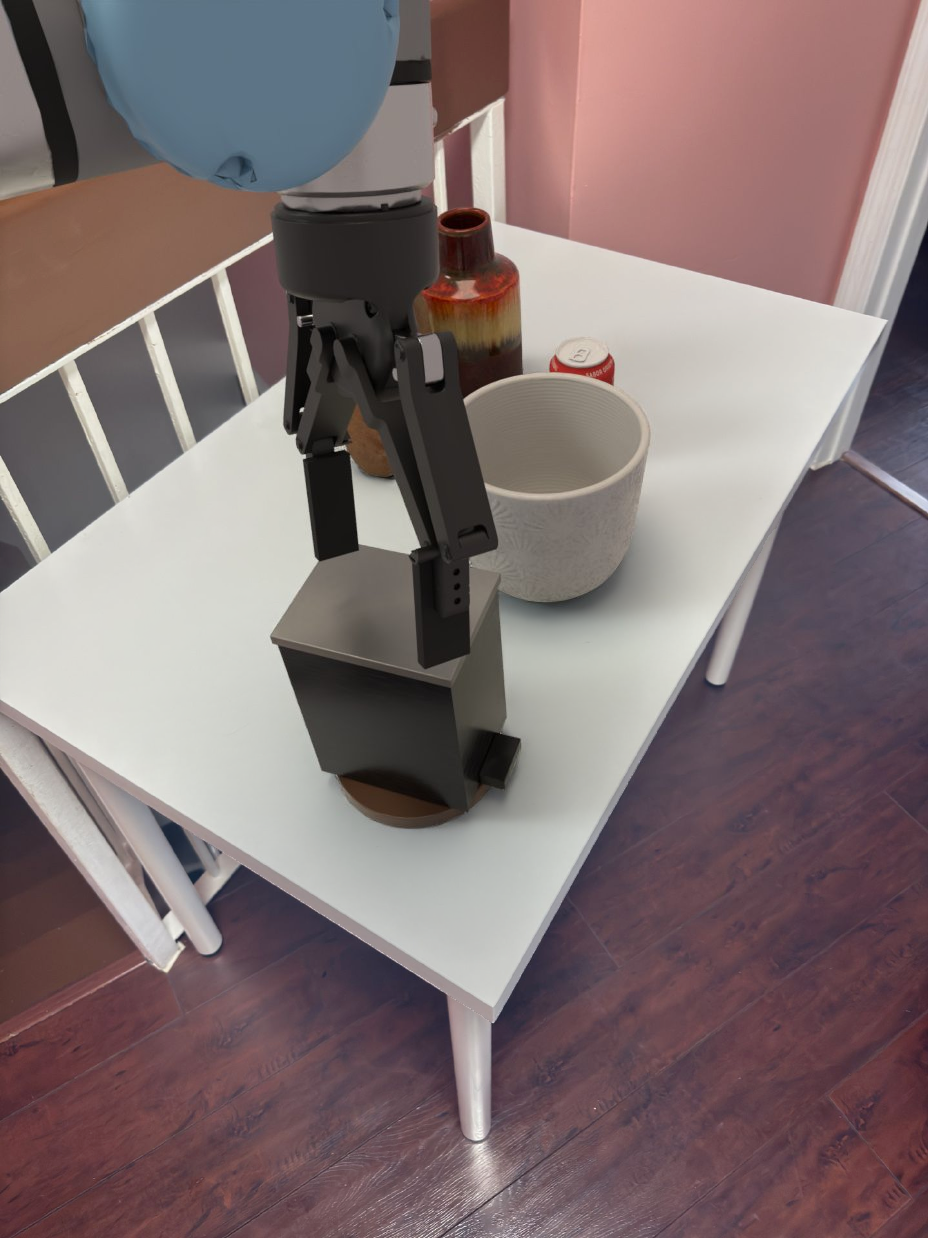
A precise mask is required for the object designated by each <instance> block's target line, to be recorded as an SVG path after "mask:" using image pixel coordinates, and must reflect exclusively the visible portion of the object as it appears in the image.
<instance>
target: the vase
mask: <svg viewBox="0 0 928 1238" xmlns="http://www.w3.org/2000/svg"><path fill="white" fill-rule="evenodd" d="M491 219H492V218H491V216H490V214H489V212H488V211H486V210H484V209H482V208H479V207H473V206H460V207H454V208H451V209H448V210H446V211H443V212H442V213H440V214H438V239H439V267H440V272H439V277H438V279H437V281H436V282H435V283H434V284H433V285H432V286H431V287H430V288H428V289H426V290H422V296H423V297H424V299H425V301H426V303H427V307H428V314H429V320H430V321H429V322H430V324H431V330H432V333H435V332H440V331H446V330H449V331H451V332H452V333H453V335H454V337H455V340H456V345H457V357H458V369H459V381H460V388H461V392H462V396H463V399H464V398H466V397H467V396H468V395H470V394H471V393H473V392H475V391H476V390H478V389H480V388H482V387H484V386H486V385H488V384H491V383H493V382H496V381H499V380H502V379H506V378H509V377H513V376H518V375H524V366H523V365H524V364H523V363H524V361H523V330H522V329H523V327H522V305H521V304H522V302H521V301H522V300H521V277H520V271H519V269H518V266H517V264H515V262H514V261H513V260H511V259H510V258H509V257H508V256H506V255H504V254H501V253H499V252H496V250H495V242H494V236H493V235H494V234H493V227H492V220H491Z"/></svg>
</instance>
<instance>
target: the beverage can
mask: <svg viewBox="0 0 928 1238" xmlns="http://www.w3.org/2000/svg"><path fill="white" fill-rule="evenodd" d="M548 365H549V366H548V368H549V369H548V372H555V373H569V374H576V375H582V376H586V377H591V378H594V379H597V380H600V381H603V382H606V383H608V384H610V385H612V386H614V387H615V370H616V368H615V366H616V364H615V359H614V358H613V356H612V355H611V354H610V351H609V347H608V346H607V344H606V343H604V342H603V341H601V340H600V339H597V338H593V337H589V336H577V337H572V338H569V339H567V340H564V341H562V342H561V343H560V344H559V345H558V346H557V348H556V350H555V354H554V355H553V356H552V358H551V359H550V361H549V364H548Z"/></svg>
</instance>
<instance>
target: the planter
mask: <svg viewBox="0 0 928 1238" xmlns="http://www.w3.org/2000/svg"><path fill="white" fill-rule="evenodd" d="M463 400H464V404H465V408H466V412H467V416H468V420H469V424H470V428H471V432H472V436H473V440H474V444H475V448H476V452H477V456H478V460H479V464H480V468H481V472H482V476H483V480H484V484H485V488H486V492H487V496H488V500H489V504H490V508H491V512H492V516H493V520H494V524H495V528H496V532H497V536H498V547H497V549H496V550H493V551H490V552H487V553H483V554H480V555H477V556H473V557H470V558H469V562H470V563H471V565H472V567H473V568H477V569H482V570H487V571H492V572H497V573H500V574H501V583H500V585H499V587H498V591H500V592H502V593H504V594H506V595H508V596H510V597H513V598H516V599H520V600H524V601H528V602H533V603H557V602H562V601H567V600H571V599H575V598H578V597H580V596H583V595H585V594H587V593H589V592H591V591H593V590H595V589H596V588H598V587H599V586H602V584H603V583H604V582H606V581H607V580H608V579H609V578H610V577H611V576H612V575H613V573H614V572H615V571H616V570H617V568H618V567H619V566H620V564H621V563H622V561H623V559H624V558H625V556H626V553H628V552H627V551H628V549H629V547H630V544H631V541H632V539H633V535H634V531H635V526H636V521H637V514H638V510H639V505H640V499H641V494H642V487H643V483H644V477H645V472H646V465H647V461H648V454H649V450H650V444H651V427H650V422H649V420H648V417H647V415H646V413H645V412H644V410H643V409H642V407H641V406H640V405H639V404H638V402H637V401H636V400H635V399H634V398H633V397H631V396H630V395H629V394H627V393H626V392H624V391H623V390H622V389H620V388H618V387H617V386H615V385H614V386H612V385H610V384H608V383H606V382H603V381H600V380H597V379H594V378H591V377H586V376H582V375H576V374H569V373H555V372H549V371H548V372H547V371H545V372H534V373H533V372H532V373H525V374H524V373H523V375H518V376H513V377H509V378H506V379H502V380H499V381H496V382H493V383H491V384H488V385H486V386H484V387H482V388H480V389H478V390H476V391H475V392H473V393H471V394H470V395H468V396H467V397H466V398H464V399H463Z"/></svg>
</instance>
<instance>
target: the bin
mask: <svg viewBox="0 0 928 1238" xmlns="http://www.w3.org/2000/svg"><path fill="white" fill-rule="evenodd" d="M358 544H359V551H356V552H352V553H349V554H345V555H342V556H338V557H334V558H331V559H327V560H324V561H320V562H319V561H318V560H317V563H315V564H316V565H315V566H314V567H313V569H312V570H311V572H310V573H309V575H308V577H307V578H306V579H305V581H304V583H303V584H302V586H301V587H300V589H299V590H298V592H297V593H296V595H295V596H294V598H293V599H292V601H291V602H290V604H289V605H288V607H287V609H286V610H285V612H284V613H283V614H282V616H281V618H280V620H279V621H278V622H277V624H276V626H275V627H274V629H273V630H272V632H271V633H270V634H269V638H270V641H271V644H272V645H276V646H277V647H278V651H279V653H280V656H281V659H282V662H283V665H284V667H285V671H286V673H287V677H288V679H289V682H290V685H291V687H292V690H293V693H294V697H295V700H296V702H297V705H298V708H299V710H300V713H301V716H302V720H303V722H304V724H305V727H306V730H307V732H308V736H309V740H310V741H311V744H312V748H313V750H314V753H315V756H316V759H317V762H318V764H319V768H320V770H321V772H324V773H328V774H331V775H335V776H337V775H338V776H341V777H345V778H348V779H352V780H355V781H359V782H362V783H366V784H369V785H373V786H376V787H380V788H383V789H387V790H390V791H394V792H397V793H401V794H404V795H408V796H411V797H414V798H418V799H421V800H425V801H428V802H432V803H435V804H439V805H442V806H446V807H449V808H453V809H456V810H460V811H463V812H464V813H466V814H467V813H468V814H469V812H470V810H471V808H472V807H471V804H472V802H473V799H474V797H475V795H476V792H477V790H478V787H479V785H480V784H484V785H487V786H490V788H491V787H493V788H495V789H499V790H502V791H505V790H506V789H507V786H508V784H509V780H510V778H511V775H512V773H513V770H514V767H515V765H516V763H517V759H518V757H519V755H520V752H521V750H522V739H521V738H520V737H516V736H512V735H509V734H505V733H501V732H502V730H503V727H504V725H505V723H506V720H507V718H508V714H507V701H506V685H505V671H504V669H505V668H504V658H503V656H504V655H503V641H502V627H501V614H500V613H501V611H500V597H499V590H498V587H499V585H500V583H501V574H500V573H497V572H492V571H487V570H482V569H477V568H475V567H473V566H469V577H470V585H469V586H470V592H469V593H470V605H469V615H470V654H468V655H465V656H462V657H459V658H456V659H453V660H451V661H448V662H445V663H442V664H439V665H437V666H434V667H431V668H428V669H424V668H423V667H422V666H421V665H420V664H419V663H418V656H417V639H416V622H415V606H414V589H413V572H412V562H411V561H410V559H409V557H408V555H410V553H405V552H401V551H400V552H399V551H395V550H389V549H384V548H380V547H375V546H370V545H366V544H360V543H358ZM470 807H471V808H470Z"/></svg>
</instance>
